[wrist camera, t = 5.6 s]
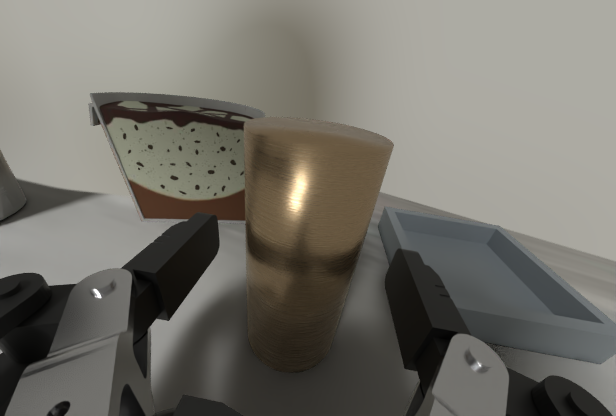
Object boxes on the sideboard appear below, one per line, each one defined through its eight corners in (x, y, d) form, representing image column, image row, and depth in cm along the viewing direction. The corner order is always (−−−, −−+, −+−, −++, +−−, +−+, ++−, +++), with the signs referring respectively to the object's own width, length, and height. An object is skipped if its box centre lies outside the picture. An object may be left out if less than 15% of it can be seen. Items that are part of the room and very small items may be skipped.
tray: (408, 327, 14) (423, 301, 13) (378, 226, 24) (384, 206, 23) (600, 364, 13) (635, 340, 12) (486, 245, 24) (499, 225, 22)
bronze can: (233, 362, 11) (214, 133, 6) (262, 283, 15) (267, 112, 10) (333, 381, 11) (415, 164, 5) (333, 296, 15) (379, 129, 10)
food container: (266, 195, 27) (270, 106, 22) (266, 224, 22) (272, 114, 17) (153, 190, 24) (129, 88, 20) (122, 221, 19) (79, 92, 14)
